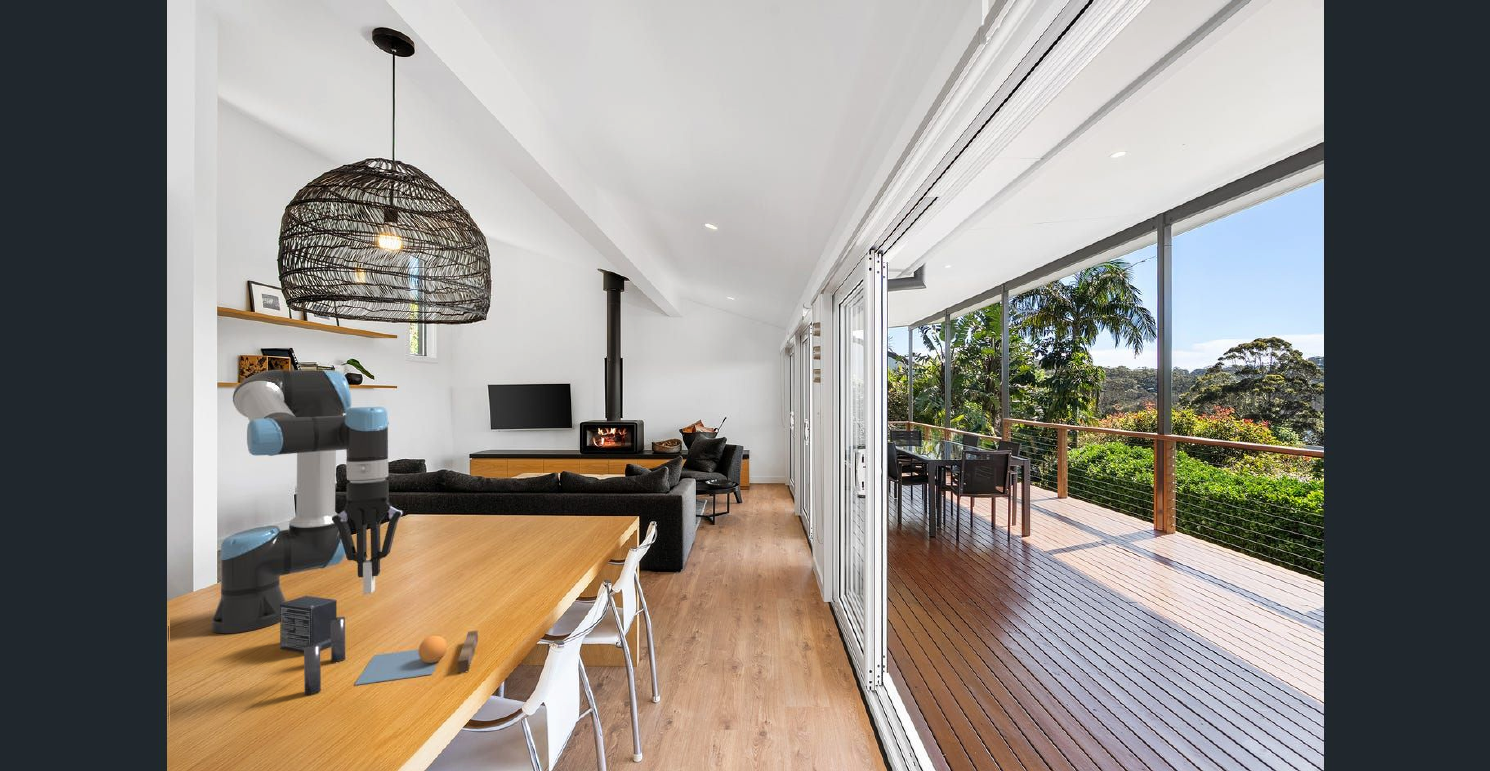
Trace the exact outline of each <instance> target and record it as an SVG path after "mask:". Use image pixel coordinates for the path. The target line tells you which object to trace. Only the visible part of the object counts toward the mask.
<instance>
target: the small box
mask: <svg viewBox="0 0 1490 771" xmlns="http://www.w3.org/2000/svg"><path fill="white" fill-rule="evenodd" d="M280 617H281V618H280V622H279V623H280V628H279V629H280V631H279V632H280V633H279V634H280V635H279V637H280V639H279V649H280V650H284V651H291V652H296V653H302V654H304V647H305V646H307V645H310V644H314V643H319V644H320V651H323V650H325V649H328V648H331V619H333V618H336V617H338V616H337V599H332V598H325V597H319V596H318V597H316V596H312V595H311V596H310V595H305V596H302V597H298V598H295V599H291V600H290V599H289V600H288V601H287V600H286V602H283V603H280Z"/></svg>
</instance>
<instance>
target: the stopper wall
mask: <svg viewBox="0 0 1490 771" xmlns="http://www.w3.org/2000/svg"><path fill="white" fill-rule="evenodd" d="M478 633H479V632H478V630H472V631H471V630H470V631H467V634H466V637H465V640H464V642H463V646H462V648H461V651H460V654H459V657H458V659H457V674H462V673H461V672H463V673H467V672H466V671H468V672H469V671H470V667H471V665H472V662H471V661H473V658H474V655H475V651H476V649H477V645H478V642H479V641H478V640H479V639H478V638H479V637H478V636H479V634H478ZM475 648H476V649H475ZM470 664H471V665H470Z"/></svg>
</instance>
